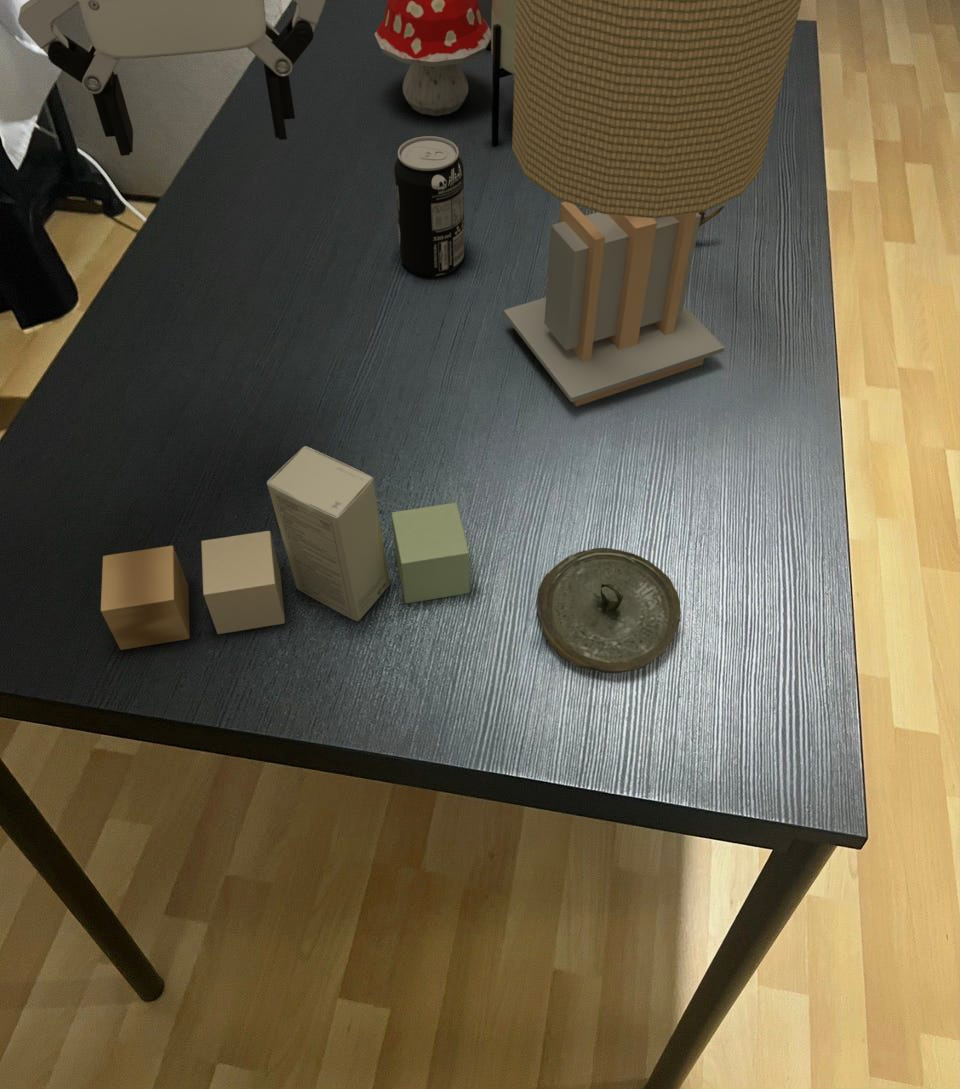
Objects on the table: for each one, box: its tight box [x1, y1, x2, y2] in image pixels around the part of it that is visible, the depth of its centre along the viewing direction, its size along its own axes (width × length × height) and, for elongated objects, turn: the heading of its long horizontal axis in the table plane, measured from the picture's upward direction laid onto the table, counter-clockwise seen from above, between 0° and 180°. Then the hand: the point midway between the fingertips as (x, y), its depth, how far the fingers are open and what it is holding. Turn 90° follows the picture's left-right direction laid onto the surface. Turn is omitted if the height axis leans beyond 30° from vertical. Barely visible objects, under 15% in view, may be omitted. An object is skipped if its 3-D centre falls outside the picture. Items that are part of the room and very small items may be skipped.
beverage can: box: [393, 135, 465, 277], centre depth 98 cm, size 7×7×12 cm
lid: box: [535, 547, 682, 674], centre depth 73 cm, size 11×10×5 cm
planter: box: [490, 0, 517, 147], centre depth 110 cm, size 15×16×23 cm
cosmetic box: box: [266, 445, 390, 622], centre depth 72 cm, size 6×4×12 cm
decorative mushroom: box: [374, 0, 491, 117], centre depth 117 cm, size 14×14×15 cm
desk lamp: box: [502, 0, 802, 407], centre depth 80 cm, size 20×20×35 cm
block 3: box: [390, 502, 471, 604], centre depth 75 cm, size 5×5×5 cm
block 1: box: [100, 545, 191, 651], centre depth 73 cm, size 5×5×5 cm
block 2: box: [200, 530, 286, 635], centre depth 73 cm, size 5×5×5 cm
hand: (204, 136), depth 64 cm, fingers open, 9 cm apart
